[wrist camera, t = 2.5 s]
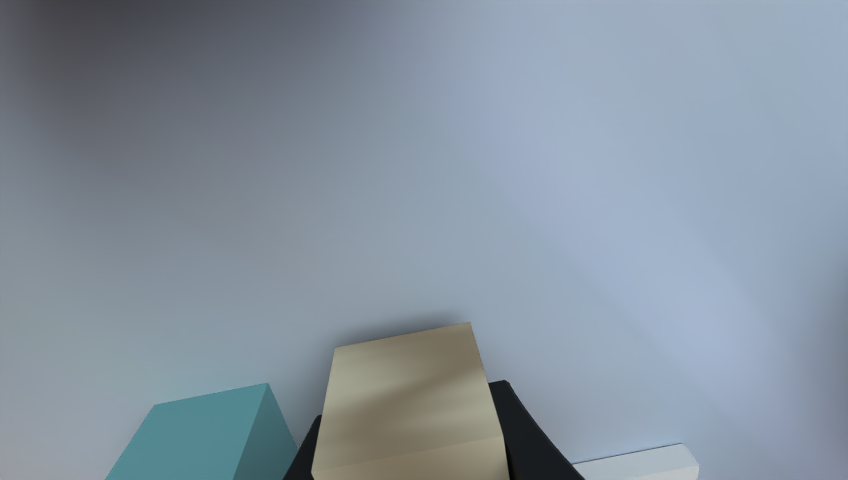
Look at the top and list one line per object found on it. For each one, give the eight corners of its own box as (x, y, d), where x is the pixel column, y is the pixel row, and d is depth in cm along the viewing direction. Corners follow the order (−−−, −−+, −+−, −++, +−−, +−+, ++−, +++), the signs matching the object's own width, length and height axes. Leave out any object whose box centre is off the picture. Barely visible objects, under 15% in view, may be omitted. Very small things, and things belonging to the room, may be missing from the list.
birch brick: (470, 321, 12) (503, 435, 9) (486, 420, 14) (519, 552, 10) (335, 347, 12) (310, 472, 9) (367, 443, 14) (358, 581, 10)
